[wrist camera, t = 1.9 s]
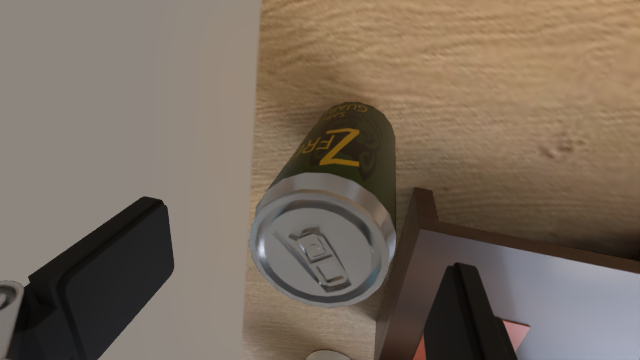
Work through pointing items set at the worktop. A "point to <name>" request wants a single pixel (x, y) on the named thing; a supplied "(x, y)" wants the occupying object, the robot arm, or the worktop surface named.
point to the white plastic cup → (327, 355)
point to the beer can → (331, 211)
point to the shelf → (512, 291)
